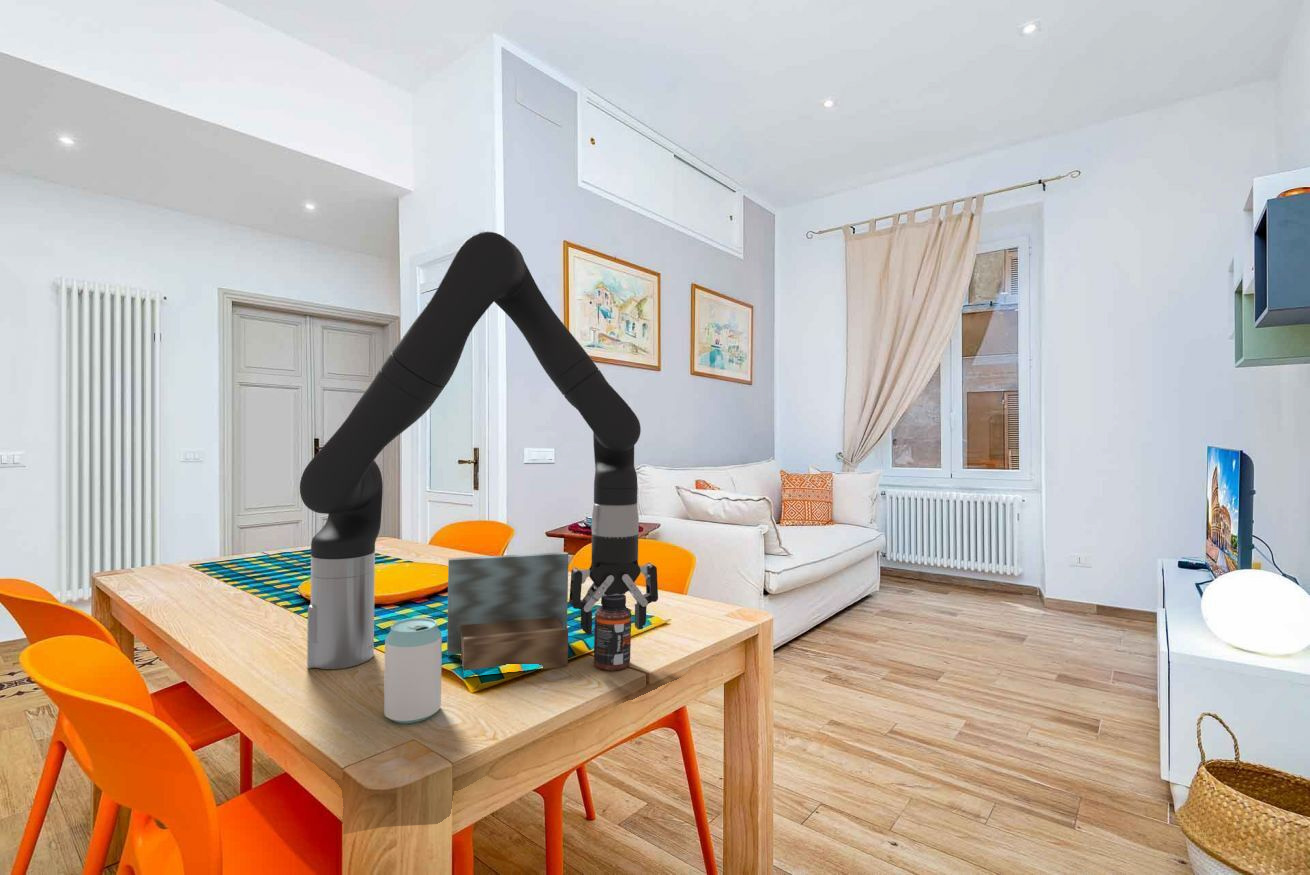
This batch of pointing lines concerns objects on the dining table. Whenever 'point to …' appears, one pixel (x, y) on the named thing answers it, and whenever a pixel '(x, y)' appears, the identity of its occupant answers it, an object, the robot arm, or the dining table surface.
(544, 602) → the wall board
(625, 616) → the supplement bottle
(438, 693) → the can
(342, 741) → the dining table surface
